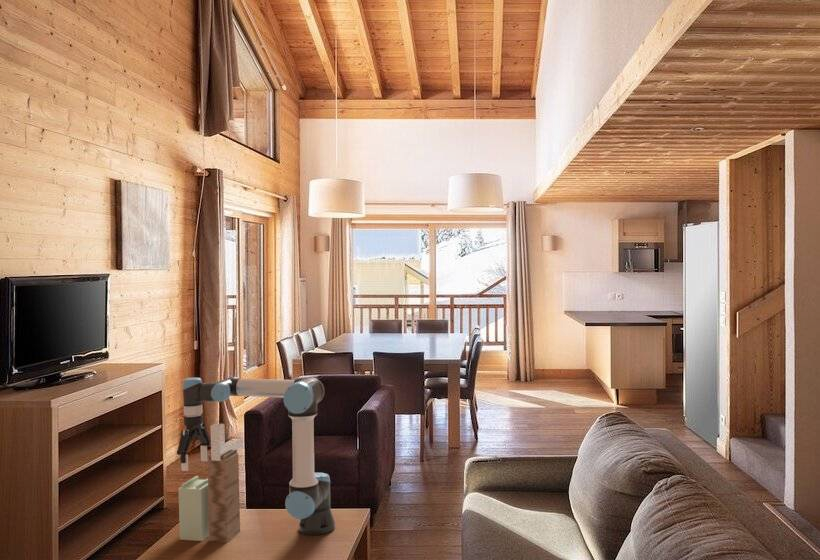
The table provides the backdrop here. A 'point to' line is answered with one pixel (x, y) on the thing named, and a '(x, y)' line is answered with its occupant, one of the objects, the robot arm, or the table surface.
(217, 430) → the stepped metal block
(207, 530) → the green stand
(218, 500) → the walnut stand
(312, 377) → the robot arm
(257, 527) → the table surface
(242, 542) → the table surface
